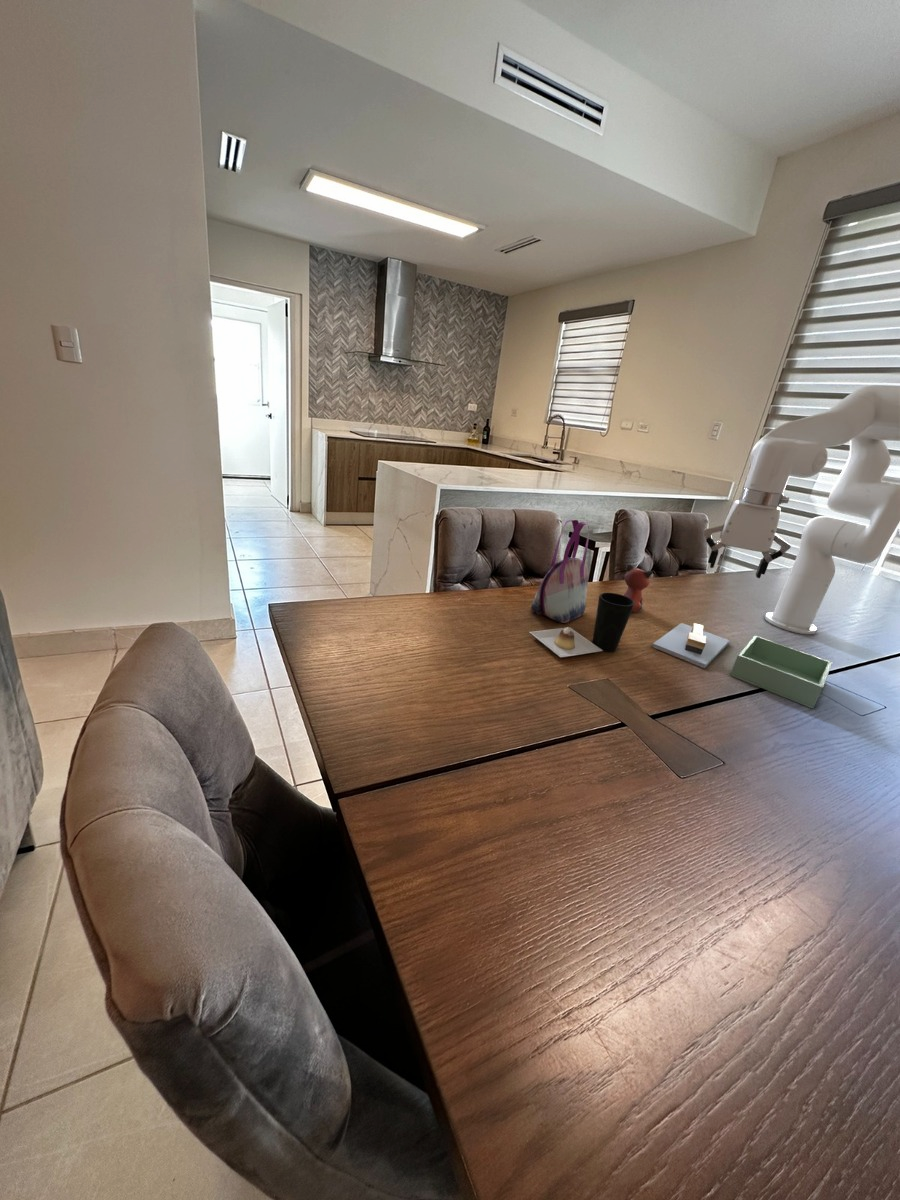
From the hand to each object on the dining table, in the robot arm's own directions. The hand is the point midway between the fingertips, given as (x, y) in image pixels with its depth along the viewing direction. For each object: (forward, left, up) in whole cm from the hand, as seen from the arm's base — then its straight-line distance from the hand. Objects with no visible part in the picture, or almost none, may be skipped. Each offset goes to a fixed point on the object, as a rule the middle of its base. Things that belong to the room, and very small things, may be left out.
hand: (734, 571), depth 110 cm
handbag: (+18, -33, -20) cm, 42 cm away
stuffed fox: (-3, -23, -20) cm, 30 cm away
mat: (+5, -3, -19) cm, 20 cm away
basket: (+5, +16, -19) cm, 26 cm away
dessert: (+33, -22, -20) cm, 44 cm away
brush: (+5, -2, -18) cm, 19 cm away
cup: (+25, -16, -20) cm, 35 cm away
